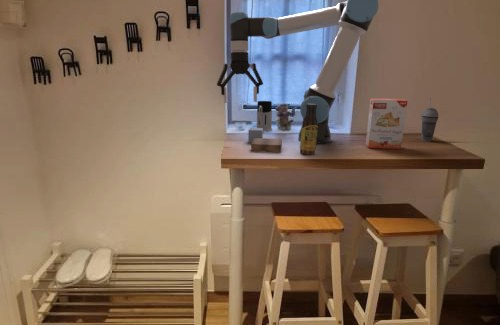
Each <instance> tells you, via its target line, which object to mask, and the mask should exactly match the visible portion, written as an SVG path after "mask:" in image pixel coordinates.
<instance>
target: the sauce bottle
mask: <svg viewBox="0 0 500 325" xmlns="http://www.w3.org/2000/svg"><path fill="white" fill-rule="evenodd" d="M306 107H307V110H306V116H305V118H304V120H303V119H302V122H301V123H302V125H301V127H302V131H301V141H300V145H299V151H300V154H302V155H309V156H310V155H311V156H312V155H315V153H316V151H317V150H316V149H317V143H316V140H317V129H318V124H317V118H316V108H317V104H307V105H306Z"/></svg>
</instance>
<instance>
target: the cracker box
mask: <svg viewBox="0 0 500 325" xmlns="http://www.w3.org/2000/svg"><path fill="white" fill-rule="evenodd" d="M369 99H370V100H369V101H370V102H369V109H368V110H369V111H368V120H367V128H366V136H365V138H366V139H365V146H366V147H367V148H368V149H390V150H401V149H402V144H403V143H402V142H403V137H404V136H403V135H404V130H405V122H406V115H407V109H408V108H407V107H408V100H407V99H400V98H369Z"/></svg>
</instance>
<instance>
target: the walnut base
mask: <svg viewBox="0 0 500 325" xmlns="http://www.w3.org/2000/svg"><path fill="white" fill-rule="evenodd" d="M282 140H283V138H268V137H267V138H266V137H265V138H264V137H263V138H254V140H253V142H252V143H250V144H251V145H250V146H251V147H250V148H251V149H250V150H251V152H259V151H266V152H267V153H281V152H282V143H283V141H282ZM266 152H265V153H266Z"/></svg>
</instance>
